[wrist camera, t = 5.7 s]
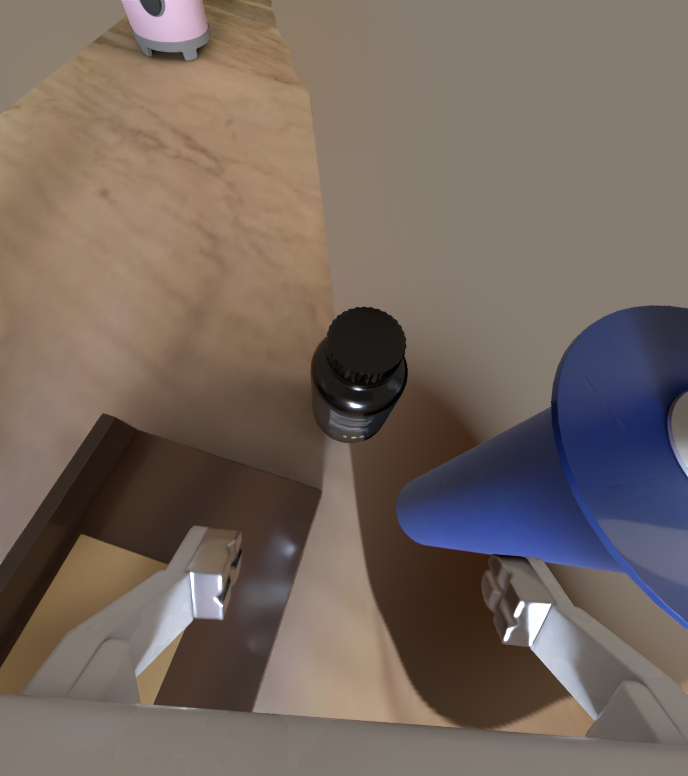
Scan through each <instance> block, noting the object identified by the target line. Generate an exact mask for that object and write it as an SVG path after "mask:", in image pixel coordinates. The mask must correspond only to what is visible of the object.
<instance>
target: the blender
mask: <svg viewBox="0 0 688 776" xmlns="http://www.w3.org/2000/svg"><path fill="white" fill-rule="evenodd" d="M121 1H122V4H123V6H124V9H125V12H126V14H127V17H128V19H129V22H130V25H131V29H132V31H133V34H134V37H135V39H136V41H137V42H138V43H139V46H140V48H141V50H142V52H143V53H144V54H145V55H147V56H149V57H150V56H152V52H151V49H152V50H156V51H162V52H183V55H184V58H185V60H186V61H191V60H195V59H197V58H198V57H197V51H196V49H197V48H199V47H201V46H203V45H205V44H206V43H207V42H208V41H209V39H210V37H211V34H210V29H209V25H208V22H207V19H206V14H205V9H204V4H203V0H121Z"/></svg>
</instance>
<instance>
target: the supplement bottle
mask: <svg viewBox="0 0 688 776" xmlns="http://www.w3.org/2000/svg"><path fill="white" fill-rule="evenodd" d="M405 342H406V338H405V336H404V331H403V330H402V327H401V326H400V325H399V324H398V322H397V320H395V319H394V318H393V317H392V316H391V315H388V314H387V313H386V312H383V311H381V310H379V309H374V308H372V307H369V308H367V307H361V308H359V307H356V308H354V309H349V310H348V311H344V312H343V313H342V314H341V315H338V316H337V318H336V319H334V320H333V322H332V324H331V325H330V326H329V331H328V332H327V337H325V338H324V339H323V340H322V341H321V342H320V344H319V345H318V346H317V348H316V350H315V352H314V354H313V357H312V362H311V387H312V406H313V414H314V417H315V420H316V422H317V424H318V426H319V427H320V429H321V430H322V431H323V432H324V433H325V434H326V435H328V436H329V437H331V438H332V439H334V440H337V441H340V442H344V443H358V442H362V441H365V440H367V439H369V438H371V437H372V436H373V435H375V434H376V433H377V432H378V431H379V430H380V428H381V427H382V425H383V424H384V422H385V421H386V419H387V418H388V416H389V414H390V413H391V411H392V409H393V408H394V406H395V404H396V403H397V401H398V399H399V398H400V396H401V394H402V392H403V390H404V388H405V385H406V382H407V376H408V368H407V363H406V359H405V357H404V355H405V349H406V343H405Z"/></svg>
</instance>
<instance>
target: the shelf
mask: <svg viewBox="0 0 688 776" xmlns="http://www.w3.org/2000/svg"><path fill="white" fill-rule="evenodd" d="M321 496H322V490H319V489H316V488H313V487H310V486H307V485H304V484H301V483H298V482H295V481H292V480H289V479H286V478H283V477H280V476H277V475H274V474H271V473H268V472H265V471H262V470H259V469H255V468H252V467H249V466H246V465H243V464H240V463H237V462H234V461H231V460H228V459H225V458H222V457H219V456H216V455H213V454H210V453H207V452H204V451H201V450H198V449H195V448H192V447H189V446H186V445H183V444H180V443H177V442H174V441H171V440H168V439H165V438H162V437H159V436H156V435H153V434H149V433H146V432H143V431H140V430H137V429H136V428H134V427H132V426H130V425H128V424H127V423H125V422H123V421H121V420H119V419H118V418H116V417H113V416H110V415H107V414H104V413H103V414H102V415H101V416H100V418H99V419H98V421H97V422H96V424H95V425H94V427H93V428H92V430H91V431H90V433H89V434H88V436H87V437H86V439H85V440H84V442H83V443H82V444H81V446H80V447H79V449H78V450H77V452H76V453H75V455H74V456H73V458H72V459H71V461H70V462H69V464H68V465H67V467H66V468H65V470H64V471H63V473H62V474H61V476H60V477H59V479H58V480H57V482H56V483H55V485H54V486H53V488H52V489H51V490H50V492H49V493H48V495H47V496H46V498H45V499H44V501H43V502H42V504H41V505H40V507H39V508H38V510H37V511H36V513H35V514H34V516H33V517H32V519H31V520H30V522H29V523H28V525H27V526H26V528H25V529H24V531H23V532H22V534H21V535H20V537H19V538H18V539H17V541H16V542H15V544H14V545H13V547H12V548H11V550H10V551H9V553H8V554H7V556H6V557H5V559H4V560H3V562H2V563H1V565H0V693H6V694H20V693H21V691H22V690H23V689H24V688H25V686H26V685H27V684H28V682H29V681H30V680H31V679H32V677H33V676H34V675H35V673H36V672H37V671H38V670H39V668H40V667H41V666H42V664H43V663H44V662H45V661H46V659H47V658H48V657H49V655H50V654H51V653H52V651H53V650H54V649H55V648H56V646H57V645H58V644H59V642H60V641H61V640H62V639H63V637H64V636H65V635H66V633H67V632H69V631H70V630H72V629H73V628H75V627H76V626H78V625H79V624H81V623H82V622H84V621H85V620H86V619H88V618H89V617H91V616H92V615H94V614H95V613H97V612H98V611H100V610H101V609H103V608H104V607H106V606H107V605H109V604H110V603H112V602H113V601H115V600H116V599H118V598H119V597H121V596H122V595H124V594H125V593H127V592H128V591H130V590H131V589H132V588H134V587H135V586H137V585H138V584H140V583H141V582H143V581H144V580H146V579H147V578H149V577H150V576H152V575H153V574H155V573H156V572H158V571H159V570H166V568H167V566H168V565H169V563H170V561H171V560H172V558H173V556H174V555H175V553H176V551H177V550H178V548H179V546H180V545H181V543H182V542H183V540H184V538H185V537H186V535H187V533H188V532H189V530H190V529H191V528H192V527H193V526H194V525H195V526H203V527H214V528H222V529H231V530H239V531H242V542H241V545H240V548H241V549H242V563H241V568H240V572H239V576H238V579H237V582H236V584H235V585H233V586H232V587H231V599H230V602H229V604H228V607H227V610H226V613H225V615H224V618H223V620H217V619H198V618H193V621H192V622H191V623H190V624H189V625H188V626H187V627H186V628H185V629H184V630H183V631H182V632H181V633H180V634H179V635H178V636H177V637H176V638H175V639H174V640H173V641H172V642H171V643H170V644H169V645H168V646H167V647H166V648H165V649H164V650H163V651H162V652H161V653H160V654H159V655H158V656H157V657H156V658H155V659H154V660H153V661H152V662H151V663H150V664H149V665H148V666H147V667H146V668H145V669H144V670H143V671H142V672H141V673H140V674H139V675H138V676H137V677H136V680H137V685H138V691H139V696H140V702H141V704H150V705H163V706H176V707H189V708H202V709H216V710H229V711H242V712H253V709H254V706H255V702H256V699H257V696H258V693H259V690H260V687H261V684H262V681H263V677H264V674H265V671H266V668H267V665H268V662H269V659H270V656H271V652H272V649H273V646H274V643H275V640H276V637H277V634H278V631H279V627H280V624H281V621H282V618H283V615H284V612H285V609H286V606H287V602H288V599H289V596H290V593H291V590H292V587H293V584H294V581H295V577H296V574H297V571H298V568H299V565H300V562H301V559H302V556H303V552H304V549H305V546H306V543H307V540H308V537H309V534H310V530H311V527H312V524H313V521H314V518H315V515H316V512H317V509H318V505H319V502H320V499H321Z"/></svg>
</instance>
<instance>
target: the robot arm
mask: <svg viewBox="0 0 688 776" xmlns="http://www.w3.org/2000/svg"><path fill="white" fill-rule="evenodd" d="M667 429H668V436H669V440H670V443H671V447H672V449H673V452H674V454H675V456H676V458H677V460H678V462H679V464H680V466H681V467H682V469H683V471H684V472H685V474H686V475H687V477H688V390H686V391H684V392H683V393H681V394H680V395H679V396H677V397H676V399H675V400H674V401H673V403H672V404H671V406H670V409H669V412H668V418H667ZM241 542H242V531H239V530H231V529H222V528H214V527H203V526H195V525H194V526H193V527H192V528H191V529H190V530H189V532H188V533H187V535H186V537H185V538H184V540H183V542H182V543H181V545H180V546H179V548H178V550H177V551H176V553H175V555H174V556H173V558H172V560H171V561H170V563H169V565H168V566H167V568H166V570H159V571H158V572H156V573H155V574H153V575H152V576H150V577H149V578H147V579H146V580H144V581H143V582H141V583H140V584H138V585H137V586H135V587H134V588H132V589H131V590H130V591H128V592H127V593H125V594H124V595H122V596H121V597H119V598H118V599H116V600H115V601H113V602H112V603H110V604H109V605H107V606H106V607H104V608H103V609H101V610H100V611H98V612H97V613H95V614H94V615H92V616H91V617H89V618H88V619H86V620H85V621H84V622H82V623H81V624H79V625H78V626H76V627H75V628H73V629H72V630H70V631H69V632H67V633H66V635H65V636H64V637H63V639H62V640H61V641H60V642H59V644H58V645H57V646H56V648H55V649H54V650H53V651H52V653H51V654H50V655H49V657H48V658H47V659H46V661H45V662H44V663H43V664H42V666H41V667H40V668H39V670H38V671H37V672H36V673H35V675H34V676H33V677H32V679H31V680H30V681H29V682H28V684H27V685H26V686H25V688H24V689H23V690H22V691H21V693H20V694H6V693H0V776H688V696H687V694H686V693H685V692H684V691H683V689H682V688H681V687H680V686H679V684H678V683H676V682H675V681H674V680H673V679H671V678H670V677H669V676H667V675H666V674H664V673H663V672H662V671H661V670H660V669H658V668H657V667H656V666H654V665H653V664H652V663H651V662H649V661H648V660H647V659H645V658H644V657H643V656H641V655H640V654H639V653H637V652H636V651H635V650H634V649H632V648H631V647H630V646H628V645H627V644H626V643H625V642H623V641H622V640H621V639H619V638H618V637H617V636H615V635H614V634H613V633H612V632H610V631H609V630H608V629H607V628H605V627H604V626H603V625H601V624H600V623H599V622H597V621H596V620H595V619H594V618H592V617H591V616H590V615H588V614H587V613H586V612H585V611H583V610H582V609H581V608H579V607H574V606H573V604H572V603H571V601H570V600H569V598H568V597H567V595H566V594H565V592H564V591H563V589H562V588H561V586H560V585H559V583H558V582H557V580H556V579H555V578H554V576H553V575H552V573H551V572H550V570H549V569H548V567H547V566H546V564H545V563H544V562H543V561H542V560H541V559H540V558H533V557H521V556H510V555H498V554H493V555H492V556H491V557H490V558H489V561H488V564H489V566H490V569H489V570H487V571H486V572H485V573H484V575H483V578H482V592H483V596H484V599H485V602H486V604H487V606H488V607H489V608H490V609H491V610H492V611H493V612H494V613H495V615H494V619H493V621H494V624H495V626H496V628H497V631H498V633H499V635H500V638H501V640H502V643H503V644H511V645H519V646H527V647H531V649H532V650H533V651H534V653H535V654H536V655H537V656H538V657H539V658H540V659H541V661H543V663H544V664H545V665H546V666H547V667H548V668H549V670H550V671H551V672H552V673H553V674H554V675H555V676H556V677H557V679H558V680H559V681H560V682H561V683H562V684H563V685H564V687H565V688H566V689H567V690H568V691H569V692H570V693H571V694H572V696H573V697H574V698H575V699H576V700H577V701H578V702H579V703H580V705H581V706H582V707H583V708H584V709H585V710H586V711H587V713H588V714H589V715H590V716H591V717H592V718H593V719H594V720H595V722H594V723H593V725H592V726H591V727H590V729H589V730H588V732H587V734H586V737H572V736H558V735H545V734H532V733H519V732H506V731H493V730H480V729H467V728H454V727H441V726H428V725H415V724H401V723H388V722H375V721H361V720H348V719H335V718H321V717H308V716H295V715H282V714H269V713H255V712H242V711H229V710H216V709H202V708H189V707H176V706H163V705H150V704H141V702H140V696H139V691H138V685H137V680H136V677H137V676H138V675H139V674H140V673H141V672H142V671H143V670H144V669H145V668H146V667H147V666H148V665H149V664H150V663H151V662H152V661H153V660H154V659H155V658H156V657H157V656H158V655H159V654H160V653H161V652H162V651H163V650H164V649H165V648H166V647H167V646H168V645H169V644H170V643H171V642H172V641H173V640H174V639H175V638H176V637H177V636H178V635H179V634H180V633H181V632H182V631H183V630H184V629H185V628H186V627H187V626H188V625H189V624H190V623H191V622H192V621H193V618H198V619H217V620H223V618H224V615H225V613H226V610H227V607H228V604H229V602H230V599H231V587H232V586H233V585H235V584H236V582H237V579H238V576H239V572H240V568H241V563H242V549H241V548H240V545H241Z"/></svg>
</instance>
